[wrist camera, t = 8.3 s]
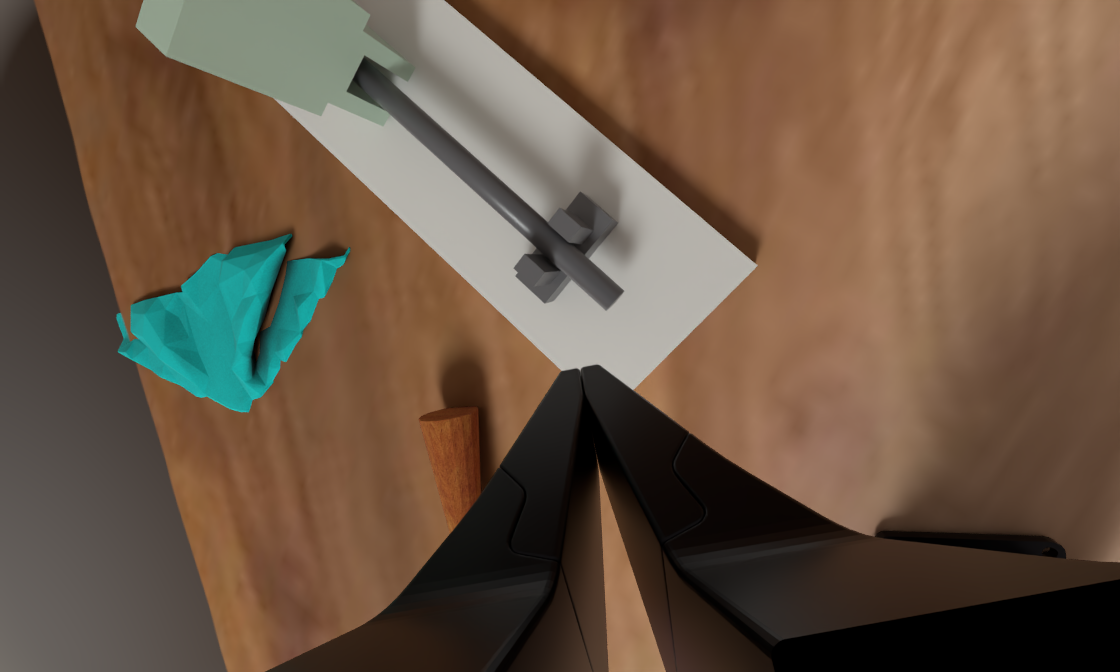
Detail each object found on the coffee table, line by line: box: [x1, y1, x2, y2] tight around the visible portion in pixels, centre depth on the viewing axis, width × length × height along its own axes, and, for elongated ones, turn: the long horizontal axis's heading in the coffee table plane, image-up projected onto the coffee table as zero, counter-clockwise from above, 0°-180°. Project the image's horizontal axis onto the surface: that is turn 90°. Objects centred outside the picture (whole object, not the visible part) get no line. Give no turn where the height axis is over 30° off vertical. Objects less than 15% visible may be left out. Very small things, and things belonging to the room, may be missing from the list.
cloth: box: [117, 234, 350, 412], centre depth 30 cm, size 26×14×2 cm, turn 96°
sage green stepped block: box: [136, 0, 415, 126], centre depth 17 cm, size 4×5×10 cm
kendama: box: [419, 406, 481, 533], centre depth 25 cm, size 6×6×20 cm
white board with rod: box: [274, 0, 757, 390], centre depth 20 cm, size 30×10×5 cm, turn 50°
